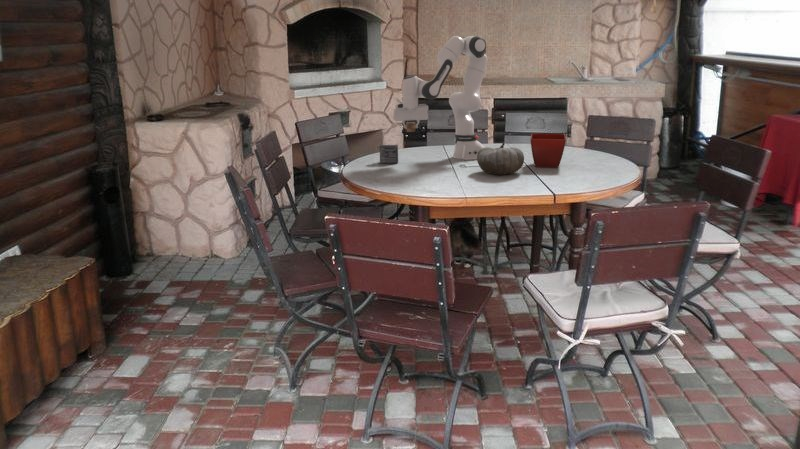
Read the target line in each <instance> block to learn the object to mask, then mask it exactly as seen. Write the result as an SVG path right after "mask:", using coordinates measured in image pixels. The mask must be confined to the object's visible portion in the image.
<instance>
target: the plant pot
mask: <svg viewBox="0 0 800 449" xmlns="http://www.w3.org/2000/svg"><path fill="white" fill-rule="evenodd" d="M566 140H567V139H566V134H565V133H533V132H532V133H531V134H530V145H531V146H530V148H531V153H532V154H531V155H532V160H533V164H534V167H535V168H551V169H553V168H556V169H557V168H559V167H560V165H561V161H562V159H563V155H564V150H565V146H566Z"/></svg>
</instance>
